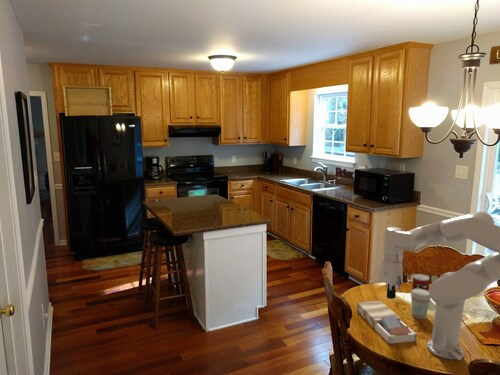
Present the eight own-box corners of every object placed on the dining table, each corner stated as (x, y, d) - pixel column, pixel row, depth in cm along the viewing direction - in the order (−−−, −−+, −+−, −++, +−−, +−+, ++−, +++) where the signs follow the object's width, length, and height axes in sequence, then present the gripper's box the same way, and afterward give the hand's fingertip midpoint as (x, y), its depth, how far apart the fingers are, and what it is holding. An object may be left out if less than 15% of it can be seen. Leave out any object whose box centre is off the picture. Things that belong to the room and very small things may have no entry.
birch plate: (399, 326, 166) (400, 317, 165) (374, 328, 164) (375, 320, 163) (379, 308, 182) (380, 300, 181) (356, 310, 180) (357, 302, 179)
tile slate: (399, 331, 160) (401, 327, 159) (386, 332, 159) (388, 328, 157) (393, 319, 165) (394, 315, 163) (380, 320, 164) (382, 316, 162)
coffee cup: (404, 314, 177) (406, 290, 175) (417, 310, 181) (419, 286, 179) (420, 322, 169) (422, 297, 167) (433, 318, 173) (435, 293, 171)
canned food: (409, 297, 195) (410, 276, 193) (414, 292, 200) (416, 272, 199) (424, 301, 190) (426, 281, 188) (429, 296, 195) (431, 276, 194)
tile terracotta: (400, 330, 160) (403, 336, 158) (387, 331, 158) (389, 337, 157) (407, 326, 155) (409, 332, 153) (394, 327, 154) (396, 333, 152)
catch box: (415, 340, 155) (416, 334, 154) (389, 343, 153) (389, 336, 152) (400, 326, 166) (400, 320, 165) (375, 329, 163) (375, 322, 163)
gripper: (375, 251, 166) (373, 291, 169) (394, 263, 152) (392, 306, 154) (391, 250, 167) (389, 290, 170) (411, 261, 153) (409, 304, 156)
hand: (390, 297), depth 162 cm, fingers closed
